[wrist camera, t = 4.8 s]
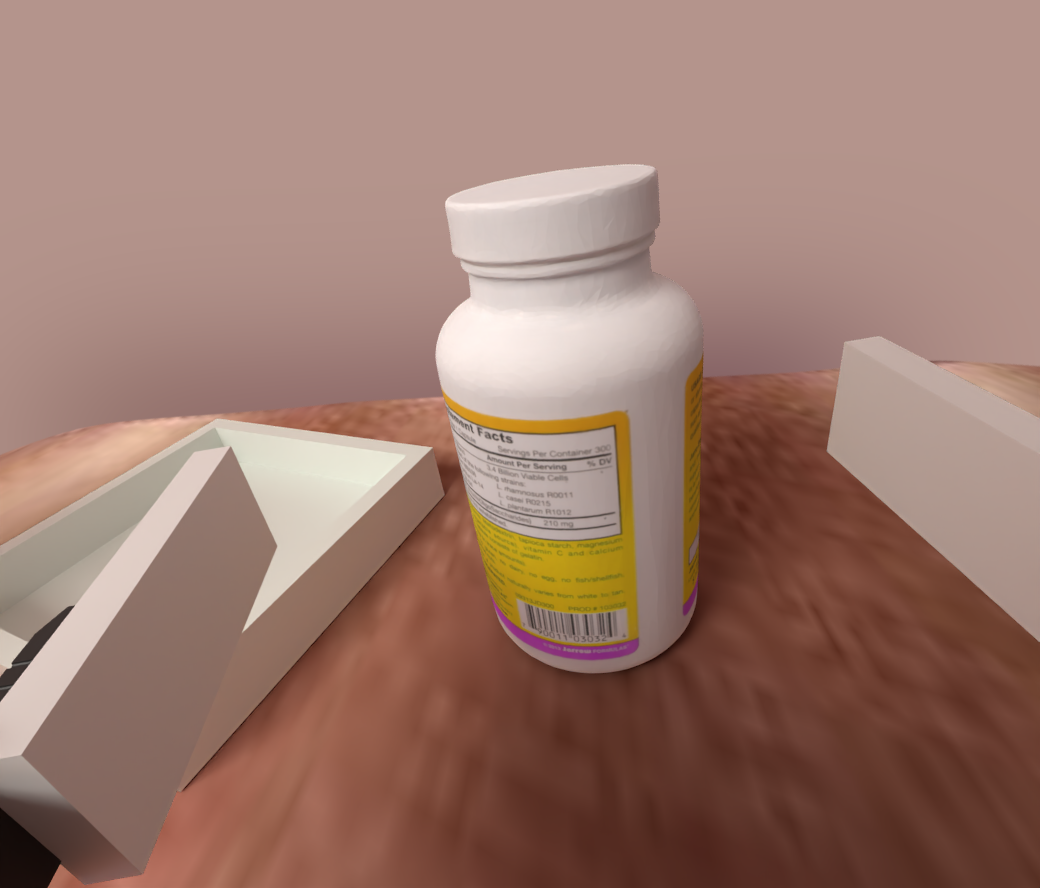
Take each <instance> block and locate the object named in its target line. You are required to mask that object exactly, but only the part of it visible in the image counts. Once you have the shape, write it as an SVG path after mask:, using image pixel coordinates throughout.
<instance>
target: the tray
mask: <svg viewBox="0 0 1040 888" xmlns="http://www.w3.org/2000/svg"><path fill="white" fill-rule="evenodd" d="M227 446H231V447H232V449H233V452H234V454H235V456H236V458H237V460H238V462H239V464H240V467H241V469H242V471H243V473H244V475H245V477H246V479H247V482H248V484H249V486H250V488H251V490H252V492H253V495H254V497H255V499H256V501H257V503H258V505H259V507H260V510H261V512H262V514H263V516H264V518H265V520H266V522H267V525H268V527H269V529H270V531H271V533H272V535H273V537H274V540H275V542H276V544H277V549H276V551H275V554H274V556H273V558H272V561H271V563H270V566H269V568H268V571H267V573H266V576H265V578H264V580H263V583H262V585H261V588H260V590H259V593H258V595H257V597H256V600H255V602H254V605H253V607H252V610H251V612H250V614H249V617H248V619H247V622H246V624H245V627H244V629H243V632H242V634H241V636H240V639H239V641H238V644H237V646H236V649H235V651H234V653H233V656H232V658H231V661H230V663H229V666H228V668H227V670H226V673H225V675H224V678H223V680H222V683H221V685H220V687H219V690H218V692H217V695H216V697H215V700H214V702H213V705H212V707H211V709H210V712H209V714H208V717H207V719H206V722H205V724H204V726H203V729H202V731H201V734H200V736H199V739H198V741H197V743H196V746H195V748H194V751H193V753H192V756H191V758H190V761H189V763H188V765H187V768H186V770H185V773H184V775H183V778H182V780H181V782H180V785H179V787H178V791H179V792H181V791H182V790H183V789H184V788H185V787H186V785H187V784H188V783H189V782H190V781H191V780H192V779H193V778H194V776H195V775H196V774H197V773H198V772H199V771H200V770H201V769H202V767H203V766H204V765H205V764H206V763H207V762H208V761H209V760H210V758H211V757H212V756H213V755H214V754H215V753H216V752H217V751H218V749H219V748H220V747H221V746H222V745H223V744H224V743H225V742H226V740H227V739H228V738H229V737H230V736H231V735H232V734H233V733H234V731H235V730H236V729H237V728H238V727H239V726H240V725H241V724H242V722H243V721H244V720H245V719H246V718H247V717H248V716H249V715H250V713H251V712H252V711H253V710H254V709H255V708H256V707H257V706H258V704H259V703H260V702H261V701H262V700H263V699H264V698H265V697H266V695H267V694H268V693H269V692H270V691H271V690H272V689H273V688H274V686H275V685H276V684H277V683H278V682H279V681H280V680H281V679H282V677H283V676H284V675H285V674H286V673H287V672H288V671H289V670H290V668H291V667H292V666H293V665H294V664H295V663H296V662H297V661H298V659H299V658H300V657H301V656H302V655H303V654H304V653H305V652H306V650H307V649H308V648H309V647H310V646H311V645H312V644H313V643H314V641H315V640H316V639H317V638H318V637H319V636H320V635H321V634H322V632H323V631H324V630H325V629H326V628H327V627H328V626H329V625H330V623H331V622H332V621H333V620H334V619H335V618H336V617H337V616H338V614H339V613H340V612H341V611H342V610H343V609H344V608H345V607H346V605H347V604H348V603H349V602H350V601H351V600H352V599H353V598H354V596H355V595H356V594H357V593H358V592H359V591H360V590H361V589H362V587H363V586H364V585H365V584H366V583H367V582H368V581H369V580H370V578H371V577H372V576H373V575H374V574H375V573H376V572H377V571H378V569H379V568H380V567H381V566H382V565H383V564H384V563H385V562H386V560H387V559H388V558H389V557H390V556H391V555H392V554H393V553H394V551H395V550H396V549H397V548H398V547H399V546H400V545H401V544H402V542H403V541H404V540H405V539H406V538H407V537H408V536H409V535H410V533H411V532H412V531H413V530H414V529H415V528H416V527H417V526H418V524H419V523H420V522H421V521H422V520H423V519H424V518H425V517H426V515H427V514H428V513H429V512H430V511H431V510H432V509H433V508H434V506H435V505H436V504H437V503H438V502H439V501H440V500H441V499H442V497H443V496H444V495H445V494H444V491H443V487H442V483H441V479H440V475H439V471H438V467H437V463H436V459H435V455H434V451H433V448H432V447H425V446H417V445H410V444H403V443H395V442H388V441H380V440H373V439H366V438H358V437H351V436H343V435H336V434H328V433H321V432H314V431H306V430H299V429H291V428H284V427H276V426H269V425H262V424H254V423H247V422H239V421H232V420H225V419H215V420H214V421H212V422H210V423H209V424H207V425H205V426H204V427H202V428H200V429H198V430H197V431H195V432H193V433H192V434H190V435H188V436H186V437H185V438H183V439H181V440H180V441H178V442H176V443H175V444H173V445H171V446H169V447H168V448H166V449H164V450H163V451H161V452H159V453H157V454H156V455H154V456H152V457H151V458H149V459H147V460H146V461H144V462H142V463H140V464H139V465H137V466H135V467H134V468H132V469H130V470H128V471H127V472H125V473H123V474H122V475H120V476H118V477H117V478H115V479H113V480H111V481H110V482H108V483H106V484H105V485H103V486H101V487H99V488H98V489H96V490H94V491H93V492H91V493H89V494H88V495H86V496H84V497H82V498H81V499H79V500H77V501H76V502H74V503H72V504H70V505H69V506H67V507H65V508H64V509H62V510H60V511H59V512H57V513H55V514H53V515H52V516H50V517H48V518H47V519H45V520H43V521H41V522H40V523H38V524H36V525H35V526H33V527H31V528H30V529H28V530H26V531H24V532H23V533H21V534H19V535H18V536H16V537H14V538H12V539H11V540H9V541H7V542H6V543H4V544H2V545H1V546H0V676H1V675H2V674H3V673H4V671H5V670H6V669H9V668H11V667H12V664H11V663H12V661H13V660H14V659H15V658H16V657H17V655H18V654H19V653H20V652H21V650H22V649H23V648H24V647H25V645H26V644H27V643H28V642H29V641H30V639H31V638H32V637H33V636H34V634H35V633H36V632H38V631H39V630H40V629H41V628H43V627H44V626H45V625H46V624H47V623H49V622H50V621H51V620H52V619H53V618H55V617H56V616H57V615H58V614H59V613H61V612H62V611H63V610H64V609H66V608H67V607H68V606H74V605H76V604H77V603H78V601H79V600H80V599H81V597H82V596H83V595H84V594H85V592H86V591H87V590H88V588H89V587H90V586H91V584H92V583H93V582H94V581H95V579H96V578H97V577H98V575H99V574H100V573H101V572H102V570H103V569H104V568H105V566H106V565H107V564H108V563H109V561H110V560H111V559H112V557H113V556H114V555H115V554H116V552H117V551H118V550H119V548H120V547H121V546H122V545H123V543H124V542H125V541H126V539H127V538H128V537H129V535H130V534H131V533H132V532H133V530H134V529H135V528H136V526H137V525H138V524H139V523H140V521H141V520H142V519H143V517H144V516H145V515H146V514H147V512H148V511H149V510H150V508H151V507H152V506H153V505H154V503H155V502H156V501H157V499H158V498H159V497H160V495H161V494H162V493H163V492H164V490H165V489H166V488H167V486H168V485H169V484H170V483H171V481H172V480H173V479H174V477H175V476H176V475H177V474H178V472H179V471H180V470H181V468H182V467H183V466H184V465H185V463H186V462H187V461H188V459H189V458H190V457H191V455H192V454H193V453H194V452H197V451H203V450H209V449H215V448H221V447H227Z"/></svg>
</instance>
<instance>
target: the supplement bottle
mask: <svg viewBox="0 0 1040 888" xmlns="http://www.w3.org/2000/svg"><path fill="white" fill-rule="evenodd" d="M658 191H659V189H658V174H657V170H656V169H655V167H652V166H647V165H634V164H633V165H632V164H624V165H610V166H598V167H585V168H576V169H568V170H560V171H553V172H546V173H540V174H534V175H528V176H523V177H518V178H512V179H507V180H502V181H498V182H493V183H489V184H485V185H481V186H478V187H474V188H471V189H467V190H464V191H462V192H459V193H457V194H454V195H452V196H450V197H449V198H448V199H447V200H446V203H445V208H446V214H447V219H448V224H449V229H450V236H451V242H452V251H453V254H454V255H455V256H456V257H457V258H460V259H461V261H460V262H461V267H462V268H463V269H464V270H465V271H466V272H467V273H469V283H470V291H471V297H470V298H468V299H467V300H465V301H464V302H463V303H461V304H460V305H459V306H458V307H457V308H456V309H455V310H454V311H453V312H452V314H451V315H450V316H449V317H448V319H447V320H446V322H445V323H444V325H443V327H442V329H441V332H440V334H439V338H438V341H437V345H436V363H437V369H438V374H439V378H440V383H441V388H442V392H443V396H444V401H445V404H446V407H447V412H448V417H449V420H450V424H451V428H452V433H453V437H454V441H455V445H456V449H457V453H458V458H459V462H460V466H461V470H462V474H463V479H464V483H465V488H466V492H467V497H468V500H469V505H470V509H471V513H472V517H473V521H474V526H475V530H476V534H477V540H478V543H479V547H480V551H481V555H482V560H483V564H484V568H485V572H486V576H487V580H488V585H489V589H490V593H491V597H492V601H493V604H494V607H495V610H496V614H497V616H498V619H499V621H500V623H501V625H502V627H503V629H504V630H505V632H506V633H507V634H508V636H509V637H510V638H511V639H512V640H513V641H514V642H515V643H516V644H517V645H518V646H519V647H520V648H521V649H522V650H524V651H525V652H526V653H528V654H529V655H530V656H532V657H534V658H536V659H537V660H539V661H541V662H543V663H545V664H548V665H550V666H553V667H555V668H559V669H563V670H567V671H572V672H579V673H609V672H615V671H621V670H625V669H629V668H632V667H635V666H638V665H640V664H642V663H645V662H647V661H649V660H651V659H653V658H655V657H656V656H658V655H659V654H661V653H662V652H664V651H665V650H667V649H668V648H669V647H670V646H671V645H672V644H673V643H674V642H675V641H676V640H677V639H678V638H679V637H680V636H681V635H682V633H683V632H684V630H685V629H686V627H687V626H688V624H689V622H690V620H691V617H692V615H693V612H694V609H695V605H696V599H697V589H698V563H699V515H700V463H701V460H700V452H701V411H702V378H703V325H702V319H701V316H700V313H699V311H698V308H697V306H696V304H695V302H694V301H693V299H692V298H691V297H690V296H689V295H688V293H687V292H686V291H685V290H684V289H683V288H682V287H681V286H680V285H678V284H677V283H676V282H674V281H673V280H671V279H669V278H667V277H665V276H663V275H661V274H658V273H655V272H652V270H651V263H650V252H649V247H650V246H651V245H652V244H653V242H654V240H655V231H654V230H655V229H656V228H657V227H658V226H659V223H660V211H659V192H658Z"/></svg>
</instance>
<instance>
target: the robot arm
mask: <svg viewBox="0 0 1040 888" xmlns="http://www.w3.org/2000/svg"><path fill="white" fill-rule="evenodd" d="M827 452H828V453H829V454H830V455H831V456H832V457H833V458H835V459H836V460H837V461H838V462H839V463H840V464H841V465H842V466H844V467H845V468H846V469H847V470H848V471H849V472H850V473H851V474H852V475H854V476H855V477H856V478H857V479H858V480H859V481H860V482H861V483H863V484H864V485H865V486H866V487H867V488H868V489H869V490H870V491H871V492H873V493H874V494H875V495H876V496H877V497H878V498H879V499H880V500H881V501H883V502H884V503H885V504H886V505H887V506H888V507H889V508H890V509H892V510H893V511H894V512H895V513H896V514H897V515H898V516H899V517H900V518H902V519H903V520H904V521H905V522H906V523H907V524H908V525H909V526H910V527H912V528H913V529H914V530H915V531H916V532H917V533H918V534H919V535H921V536H922V537H923V538H924V539H925V540H926V541H927V542H928V543H929V544H931V545H932V546H933V547H934V548H935V549H936V550H937V551H938V552H939V553H941V554H942V555H943V556H944V557H945V558H946V559H947V560H948V561H950V562H951V563H952V564H953V565H954V566H955V567H956V568H957V569H958V570H960V571H961V572H962V573H963V574H964V575H965V576H966V577H967V578H969V579H970V580H971V581H972V582H973V583H974V584H975V585H976V586H977V587H979V588H980V589H981V590H982V591H983V592H984V593H985V594H986V595H987V596H989V597H990V598H991V599H992V600H993V601H994V602H995V603H996V604H998V605H999V606H1000V607H1001V608H1002V609H1003V610H1004V611H1005V612H1006V613H1008V614H1009V615H1010V616H1011V617H1012V618H1013V619H1014V620H1015V621H1016V622H1018V623H1019V624H1020V625H1021V626H1022V627H1023V628H1024V629H1025V630H1027V631H1028V632H1029V633H1030V634H1031V635H1032V636H1033V637H1034V638H1035V639H1037V640H1038V641H1039V642H1040V418H1038V417H1037V416H1035V415H1033V414H1031V413H1029V412H1027V411H1025V410H1023V409H1021V408H1019V407H1017V406H1015V405H1013V404H1011V403H1009V402H1007V401H1005V400H1003V399H1001V398H1000V397H998V396H996V395H994V394H992V393H990V392H988V391H986V390H984V389H982V388H980V387H978V386H976V385H974V384H972V383H970V382H968V381H966V380H964V379H963V378H961V377H959V376H957V375H955V374H953V373H951V372H949V371H947V370H945V369H943V368H941V367H939V366H937V365H935V364H933V363H931V362H929V361H927V360H926V359H923V358H922V357H920V356H918V355H916V354H914V353H912V352H910V351H908V350H906V349H904V348H902V347H900V346H898V345H896V344H894V343H892V342H890V341H889V340H887V339H885V338H883V337H881V336H877V337H871V338H865V339H859V340H853V341H847V342H845V343H844V349H843V355H842V361H841V367H840V373H839V379H838V385H837V391H836V397H835V403H834V409H833V416H832V422H831V428H830V434H829V440H828V446H827ZM276 549H277V544H276V542H275V540H274V537H273V535H272V533H271V531H270V529H269V527H268V525H267V522H266V520H265V518H264V516H263V514H262V512H261V510H260V507H259V505H258V503H257V501H256V499H255V497H254V495H253V492H252V490H251V488H250V486H249V484H248V482H247V479H246V477H245V475H244V473H243V471H242V469H241V467H240V464H239V462H238V460H237V458H236V456H235V454H234V452H233V449H232V447H231V446H227V447H221V448H215V449H209V450H203V451H197V452H194V453H193V454H192V455H191V457H190V458H189V459H188V461H187V462H186V463H185V465H184V466H183V467H182V468H181V470H180V471H179V472H178V474H177V475H176V476H175V477H174V479H173V480H172V481H171V483H170V484H169V485H168V486H167V488H166V489H165V490H164V492H163V493H162V494H161V495H160V497H159V498H158V499H157V501H156V502H155V503H154V505H153V506H152V507H151V508H150V510H149V511H148V512H147V514H146V515H145V516H144V517H143V519H142V520H141V521H140V523H139V524H138V525H137V526H136V528H135V529H134V530H133V532H132V533H131V534H130V535H129V537H128V538H127V539H126V541H125V542H124V543H123V545H122V546H121V547H120V548H119V550H118V551H117V552H116V554H115V555H114V556H113V557H112V559H111V560H110V561H109V563H108V564H107V565H106V566H105V568H104V569H103V570H102V572H101V573H100V574H99V575H98V577H97V578H96V579H95V581H94V582H93V583H92V584H91V586H90V587H89V588H88V590H87V591H86V592H85V594H84V595H83V596H82V597H81V599H80V600H79V601H78V603H77V604H76V605H74V606H68V607H67V608H66V609H64V610H63V611H62V612H61V613H59V614H58V615H57V616H56V617H55V618H53V619H52V620H51V621H50V622H49V623H47V624H46V625H45V626H44V627H43V628H41V629H40V630H39V631H38V632H36V633H35V634H34V636H33V637H32V638H31V639H30V641H29V642H28V643H27V644H26V645H25V647H24V648H23V649H22V650H21V652H20V653H19V654H18V655H17V657H16V658H15V659H14V660H13V661H12V663H11V664H12V667H11V668H9V669H6V670H5V671H4V673H3V674H2V675H1V676H0V888H48V886H49V884H50V882H51V880H52V878H53V876H54V874H55V872H56V870H57V869H58V867H59V865H60V864H61V865H62V866H64V867H65V868H66V869H67V870H68V871H69V872H71V873H72V874H73V875H74V876H75V877H76V878H77V879H79V880H80V881H81V882H82V883H83V884H84V885H87V884H92V883H98V882H103V881H109V880H114V879H120V878H125V877H131V876H136V875H142V874H143V873H144V870H145V868H146V865H147V863H148V860H149V858H150V855H151V853H152V851H153V848H154V846H155V843H156V841H157V838H158V836H159V834H160V831H161V829H162V826H163V824H164V821H165V819H166V817H167V814H168V812H169V809H170V807H171V804H172V802H173V799H174V797H175V795H176V792H177V790H178V787H179V785H180V782H181V780H182V778H183V775H184V773H185V770H186V768H187V765H188V763H189V761H190V758H191V756H192V753H193V751H194V748H195V746H196V743H197V741H198V739H199V736H200V734H201V731H202V729H203V726H204V724H205V722H206V719H207V717H208V714H209V712H210V709H211V707H212V705H213V702H214V700H215V697H216V695H217V692H218V690H219V687H220V685H221V683H222V680H223V678H224V675H225V673H226V670H227V668H228V666H229V663H230V661H231V658H232V656H233V653H234V651H235V649H236V646H237V644H238V641H239V639H240V636H241V634H242V632H243V629H244V627H245V624H246V622H247V619H248V617H249V614H250V612H251V610H252V607H253V605H254V602H255V600H256V597H257V595H258V593H259V590H260V588H261V585H262V583H263V580H264V578H265V576H266V573H267V571H268V568H269V566H270V563H271V561H272V558H273V556H274V554H275V551H276Z"/></svg>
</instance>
